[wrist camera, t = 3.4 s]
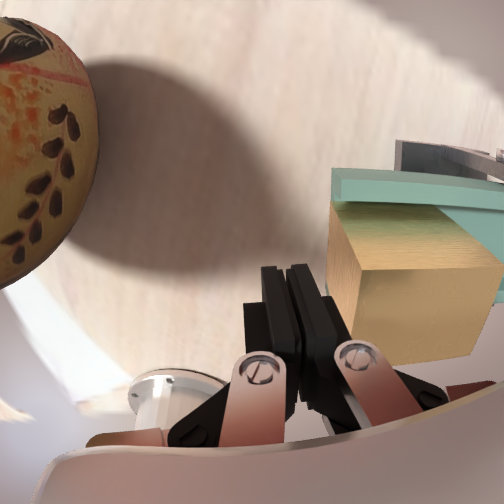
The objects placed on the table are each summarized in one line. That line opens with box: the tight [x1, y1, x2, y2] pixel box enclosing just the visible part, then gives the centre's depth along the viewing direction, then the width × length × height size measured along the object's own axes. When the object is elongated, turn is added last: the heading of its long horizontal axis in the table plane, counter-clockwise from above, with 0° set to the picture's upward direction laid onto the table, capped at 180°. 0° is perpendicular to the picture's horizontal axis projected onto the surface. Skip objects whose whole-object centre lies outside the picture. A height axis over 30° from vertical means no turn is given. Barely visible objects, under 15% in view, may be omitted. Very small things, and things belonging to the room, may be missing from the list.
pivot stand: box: [394, 140, 504, 306], centre depth 18 cm, size 12×10×8 cm
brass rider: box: [326, 201, 504, 366], centre depth 12 cm, size 4×6×7 cm
